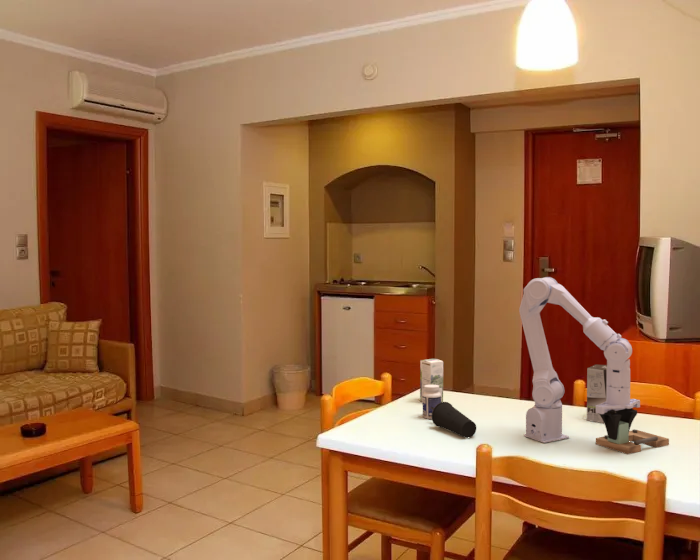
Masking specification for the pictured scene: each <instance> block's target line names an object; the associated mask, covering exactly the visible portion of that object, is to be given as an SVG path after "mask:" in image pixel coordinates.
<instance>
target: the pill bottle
mask: <svg viewBox="0 0 700 560" xmlns="http://www.w3.org/2000/svg"><path fill="white" fill-rule="evenodd" d="M424 390H425V392H424V393H423V402H422V417H423V418H424V419H426V418H427V419H426V420H432V411H433V410H432V409H431V407H433V408H435V406H436V405H437V404H439V403H441V394H440V393H439V385H425V386H424Z"/></svg>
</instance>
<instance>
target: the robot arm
mask: <svg viewBox="0 0 700 560" xmlns="http://www.w3.org/2000/svg"><path fill="white" fill-rule="evenodd" d="M547 303H548V304H552V305H559V306H560V307H562V308H563V309H564V310H565V311H566V312H567V313H569V315H571V316H572V318H574V319H575V320H576V321H577V322H579V324H581V325H582V330H583V333H584V334H585V336H586V337H587V338H589V340H590V341H591V342H593V343H594V345H596V346H597V347H598V348H599V349H600V350H601V351H603V355H604V358H605V359H606V365H607V386H606V402H603V403H601V404H599V405H596V413H599V414H600V416H601V418H602V419H603V422H604V423H603V424H604V426H605V430H606V433H607V434H606V435H608V438H610V439H613V440H616V439H617V435H618V425H619V421H623V422H626V423H629V431H631V430H630V429H631V426H632V424H633V422H634V420H635V417H636V416H637V415H638V410H636V409H637V408H641V400H640V399H636V398H631V368H630V367H631V359H630V357H631V356H632V354H633V348H632V344H631V343H630V342H629V340H628V339H626V338H623V337H622V335H621V334H620V333H617V332H615V331H614V330H613V328H611V327H610V326H609V325H608V324H609V321H607V319H602V318H601V317H598V316H597V317H594V316H592V315H591V314H590V313H589V312H588V311H587V310H586V309H585V308H584V307H583V306H582V305H581V303H580V302H578V300H577V299H576V298H575V297H574V296H573V295H572V294H571V293H570V292H569V291H568V289H566V288H565V286H563V285H562V284H560V283H558V281H557V280H556V279H555V278H553V277H551V276H545V277H541V278H540V277H537V278H533V279H531V280H530V281H529V282H528V283H527V285H526V286H525V287H523V295H522V298H521V302H520V306H519V308H518V311H519V317H520V320H521V323H522V324H521V325H522V327H523V332H524V336H525V341H526V345H527V350H528V354H529V358H530V361H531V362H530V363H531V366H532V370H533V374H532V375H533V376H532V385H533V387H532V391H531V392H532V393H531V394H532V396H531V397H532V400H533V402H534V405H533V406H532V407H530V408H528V410H527V411H526V414H525V433H524V434H523V437H526V438H528V439H531V440H535V441H537V442H540V443H544V444H546V443H551V442H556V441H560V440H561V441H562V440H566V439H569V438H570V436H569V435H567V434H563V403H562V401H561V399H562V398H563V396H564V394H565V387H564V384H563V383H562V382H561V380H560V379H559V375H558V373H557V371H555V368H554V367H553V364H552V359H551V354H550V351H549V346H548V344H547V339H546V335H545V331H544V327H543V323H542V318H541V312H542V310H543V309H544V307H546V305H547ZM634 408H636V409H634Z"/></svg>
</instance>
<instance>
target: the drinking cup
mask: <svg viewBox="0 0 700 560" xmlns="http://www.w3.org/2000/svg"><path fill="white" fill-rule="evenodd" d="M431 409H432V410H433V411H432V419H431V420H432V422H433V424H434V425H435V426H436V427H439V426H440V427H439V428H443V429H445V430H447V431H449V432H452V433H454V434H456V435H458V436H461V437H463V438H466V439H469V438H468V437H470V438H472V437H473V436H475V434H476V432H477V424H476V423H475V422H474V421H473V420H471V419H470V418H469V417H467V416H466V415H465V414H463V413H462V412H460V411H459V410H458V409H457V408H455V407H454V406H453V404H451V403H450V402H448V401H443V402H441V403H439V404H437V405H436V406H435V408H433V407H431Z"/></svg>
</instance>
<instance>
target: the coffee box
mask: <svg viewBox="0 0 700 560" xmlns="http://www.w3.org/2000/svg"><path fill="white" fill-rule="evenodd" d="M586 372H587V373H586V374H587V375H586V421H590V422H595V423H596V422H597V423H602V424H604V422H603V419H602V418H601V416H600V414H599V413H596V405H599V404H601V403H603V402H606V386H607V364H597V363H596V364H594V365H592V366H590V367H587V371H586Z"/></svg>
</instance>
